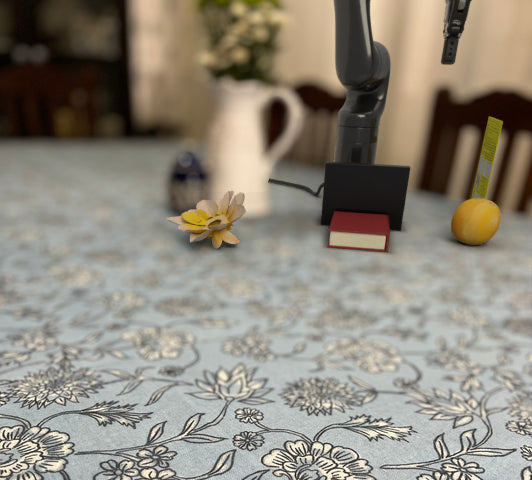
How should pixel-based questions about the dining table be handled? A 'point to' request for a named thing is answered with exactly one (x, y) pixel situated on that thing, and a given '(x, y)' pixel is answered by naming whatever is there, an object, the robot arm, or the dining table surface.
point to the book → (359, 231)
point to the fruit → (475, 221)
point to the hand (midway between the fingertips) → (447, 64)
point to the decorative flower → (212, 219)
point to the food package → (487, 158)
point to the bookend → (365, 190)
